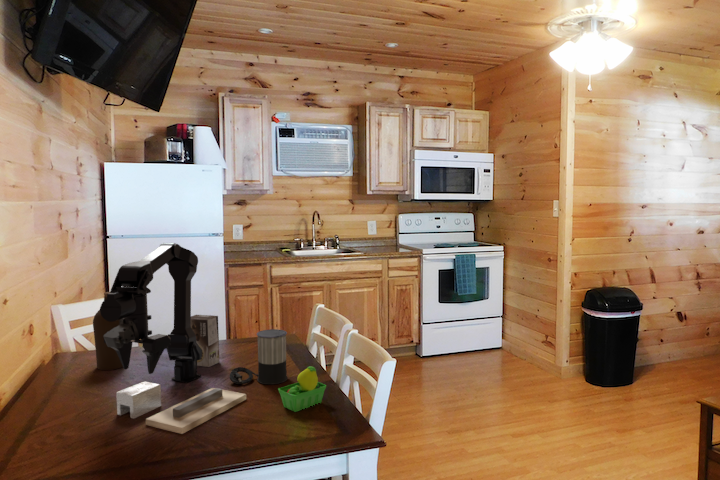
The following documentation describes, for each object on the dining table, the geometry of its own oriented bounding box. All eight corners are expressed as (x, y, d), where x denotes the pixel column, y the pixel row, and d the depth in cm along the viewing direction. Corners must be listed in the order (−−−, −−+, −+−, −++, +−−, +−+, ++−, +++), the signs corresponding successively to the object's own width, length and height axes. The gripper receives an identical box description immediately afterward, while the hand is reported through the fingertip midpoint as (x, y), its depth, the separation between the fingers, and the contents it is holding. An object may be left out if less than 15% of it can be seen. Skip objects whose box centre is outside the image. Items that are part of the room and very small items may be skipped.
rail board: (212, 392, 151) (212, 380, 151) (246, 399, 146) (246, 387, 145) (145, 424, 129) (145, 411, 129) (182, 434, 124) (181, 419, 124)
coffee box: (220, 361, 180) (219, 315, 179) (209, 367, 174) (207, 319, 173) (198, 359, 183) (196, 313, 182) (186, 364, 177) (184, 317, 176)
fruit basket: (310, 395, 148) (309, 356, 147) (330, 404, 142) (330, 363, 141) (277, 407, 140) (276, 365, 139) (297, 416, 134) (296, 373, 133)
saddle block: (145, 402, 144) (144, 381, 144) (161, 406, 141) (160, 384, 141) (117, 414, 136) (116, 392, 136) (133, 418, 133) (132, 395, 133)
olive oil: (91, 372, 170) (87, 296, 168) (99, 362, 181) (96, 290, 179) (126, 369, 172) (122, 294, 171) (132, 360, 183) (129, 289, 181)
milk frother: (294, 379, 162) (293, 332, 160) (251, 393, 150) (250, 342, 149) (266, 369, 171) (265, 325, 170) (223, 382, 160) (222, 334, 159)
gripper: (83, 316, 134) (86, 375, 135) (135, 323, 126) (138, 386, 127) (120, 307, 144) (123, 363, 145) (171, 313, 136) (173, 372, 137)
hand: (138, 371), depth 138 cm, fingers open, 9 cm apart
